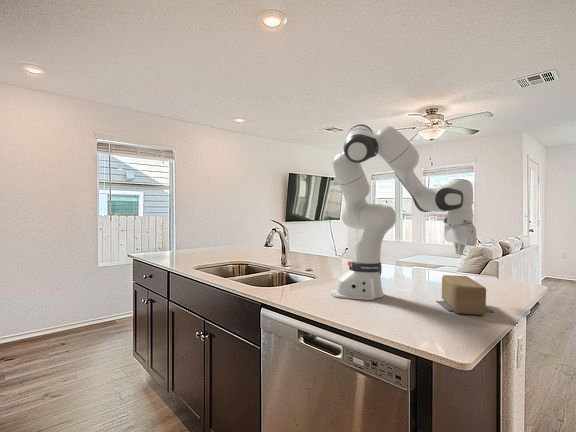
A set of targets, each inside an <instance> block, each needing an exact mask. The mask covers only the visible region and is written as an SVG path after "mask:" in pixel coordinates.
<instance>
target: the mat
mask: <svg viewBox="0 0 576 432" xmlns="http://www.w3.org/2000/svg"><path fill="white" fill-rule="evenodd" d="M435 302H436V303H437V304H438V305H440V306H441V307H442V308H444V309H445V310H447V311H448V312H454V313H456V312H455V311H454V310H453V309H452V308H451V307H450V306H449V305H448V304H447V303H446V302H445V301H444V300H436V301H435ZM485 313H492V314H494V313H495V311H494V310H492V309H491V308H489V307H487V306H486V312H485Z"/></svg>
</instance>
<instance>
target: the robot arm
mask: <svg viewBox="0 0 576 432" xmlns="http://www.w3.org/2000/svg"><path fill="white" fill-rule="evenodd" d="M377 155H378V156H380V157H381V158H382V159H383V160H384V162H385V163H387V165H388V166H389V167H390V169H392V171H393V172H394V174H395V176H396V178H397V179H398V180H399V182H400V183H401V184H402V186H403V187H404V188H405V190H406V191H407V192H408V193H409V195H410V196H411V198H412V201H413V203H414V206H415V207H416V209H417V210H418V211H419V212H422V213H431V212H434V213H435V212H437V213H439V212H440V213H443V212H447V215H446V216H445V217H444V218H443V223H444V226H443V227H444V228H443V229H444V231H443V233H444V239H445V241H446V242H452V243H453V246H454V249H455V251H454V253H455V254H456V255H458V256H463V255H464V250H465V248H466V246H469V247H472V246H473V247H475V246H476V244H477V242H478V241H477V229H476V226H475V225H474V223H473V220H474V216H473V215H474V210H473V204H474V188H473V184H472V181H470V180H467V179H465V178H464V179H463V178H454V179H453V178H452V179H451V180H450V181H449V182H448V183H446V184H444V185H440V186H439V187H428V186H425V185H424V184H423V183H422V181H421V180H420V179H419V177H418V175H416V174H415V171H414V169H415V168H416V167H417V166H418V163H419V161H420V160H419V159H420V154H419V152H418V150H417V149H416V147H415V146H414V144H412V142H410V140H409V139H408V138H407V137H406V135H405V136H404V135H403V133H401V132H400V131H398V129H396V128H395V127H393V126H388V125H386V126H384V127H381V128H380V129H379V130H378V131H376V132H374V131H373V130H372V129H371V127H369V126H368V125H366V124H357V125H354V126H352V127H351V129H349V130H348V133H347V135H346V137H345V139H344V145H343V151H342V152H340V153H338V154H336V155H335V156H334V158H333V159H332V168H333V171H334V175H335V177H336V181H337V183H338V186H339V188H340V190H341V192H342V194H343V197H344V201H345V207H344V209H343V211H342V214H341V218H342V220H341V221H342V222H343V224H344V225H345V226H347V227H349V228H352V229H355V230H357V229H358V230H363V233H362V235H361V237H360V238H359V239H358V240H356V241H355V242H354V247H353V249H354V251H353V255H354V256H353V261H351V260H348V261H347V265H348V268H349V269H348V270H347V271H346V272H344V273H342V274H341V275H340V276H339V277H337V279H336V283H335V287H332V288H331V289H330V294H331V296H332V297H335V298H338V299H340V298H341V299H352V300H355V299H356V300H365V301H373V300H375V299H379V298H382V297H384V290H383V287H382V277H381V276H382V268H383V267H382V262H381V254H382V253H381V251H382V244H383V240H384V238H385V236H386V234H387V233H388V232H389V230H391V229H392V228H393V227H394V226H395V224H396V221H397V214H396V212H395V210H394V208H393V207H392V206H390V205H386V204H382V203H375V204H374V203H370V204H369V203H368V202H367V200H366V198H367V197H368V195H369V193H370V191H371V186H370V184H369V182H368V180H367V176H366V174H365V172H364V170H363V167H362V163H363V162H366V161H368V160H369V159H372V158H375V157H376V156H377Z"/></svg>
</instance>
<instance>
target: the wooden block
mask: <svg viewBox="0 0 576 432" xmlns="http://www.w3.org/2000/svg"><path fill="white" fill-rule="evenodd" d="M441 299H442V301H445V302H446V303H447V304H448V305H449V306H450V307H451V308H452V309H453V310H454V311H455V312H454V311H453V312H454V313H456V314H461V315H462V314H463V315H475V316H476V315H479V316H483V315H485V314H486V313H487V312H486V307H487V306H486V305H487V288H486V287H485V286H484V285H482V284H480V283H479V282H477V281H475V280H474V279H472V278H470V277H469V276H467V275H451V274H450V275H449V274H444V275H442V277H441Z"/></svg>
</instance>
